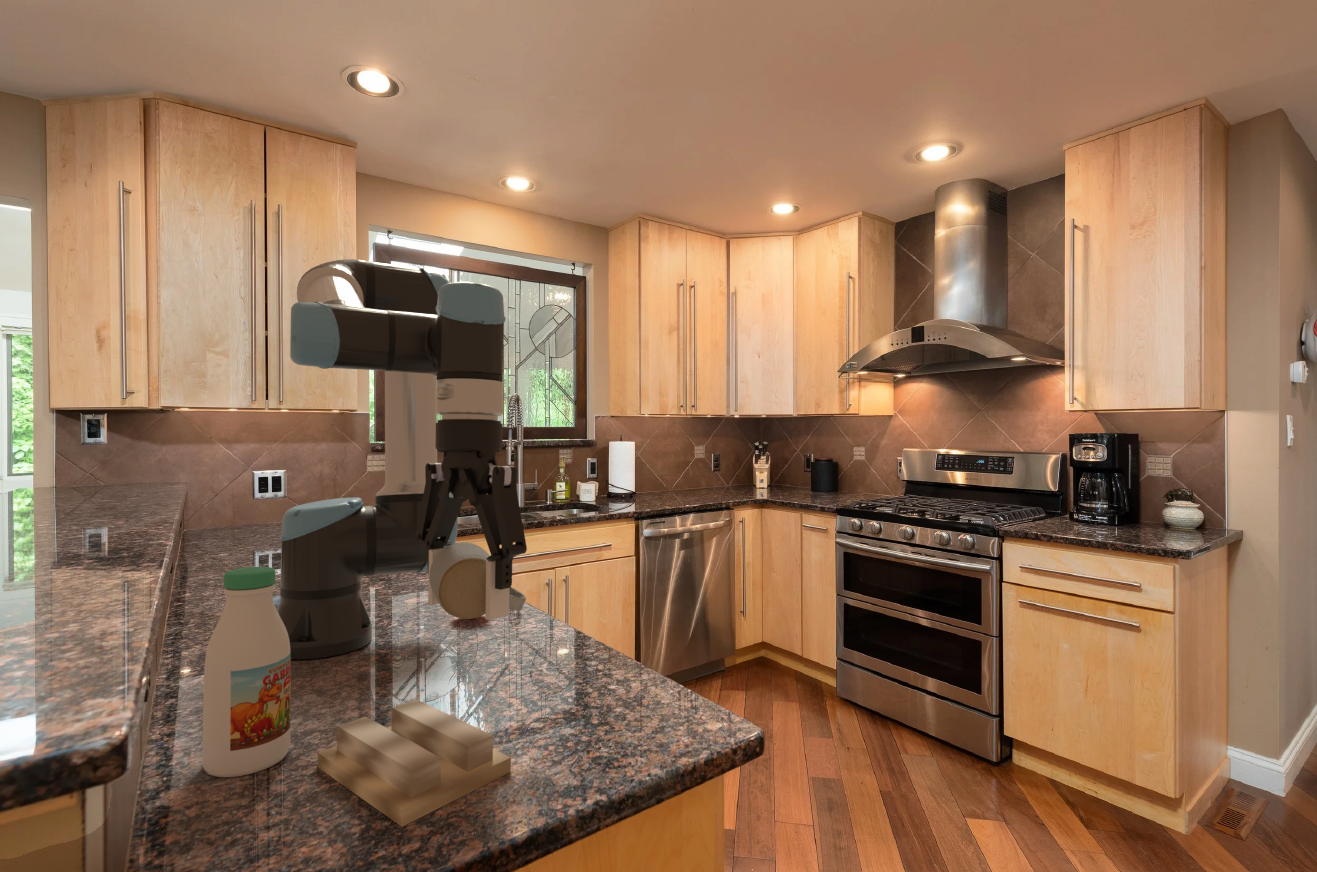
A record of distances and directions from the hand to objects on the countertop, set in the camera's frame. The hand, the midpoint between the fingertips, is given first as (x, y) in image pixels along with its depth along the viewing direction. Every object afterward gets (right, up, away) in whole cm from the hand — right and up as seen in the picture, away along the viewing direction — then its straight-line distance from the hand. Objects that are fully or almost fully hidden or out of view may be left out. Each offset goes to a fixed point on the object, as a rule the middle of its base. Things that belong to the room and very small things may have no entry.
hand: (467, 609), depth 75 cm
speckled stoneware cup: (+1, -1, +1) cm, 1 cm away
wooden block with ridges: (-3, -14, -9) cm, 17 cm away
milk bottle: (-21, -14, -7) cm, 26 cm away
